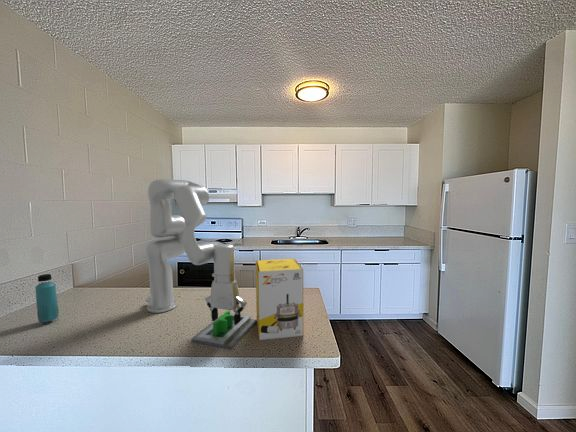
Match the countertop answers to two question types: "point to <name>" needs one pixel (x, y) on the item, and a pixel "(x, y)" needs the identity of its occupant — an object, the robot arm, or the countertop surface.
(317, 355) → the countertop surface
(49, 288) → the beverage bottle
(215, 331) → the pipe clamp
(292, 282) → the packaging box
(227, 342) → the groove block
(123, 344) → the countertop surface
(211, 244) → the robot arm
